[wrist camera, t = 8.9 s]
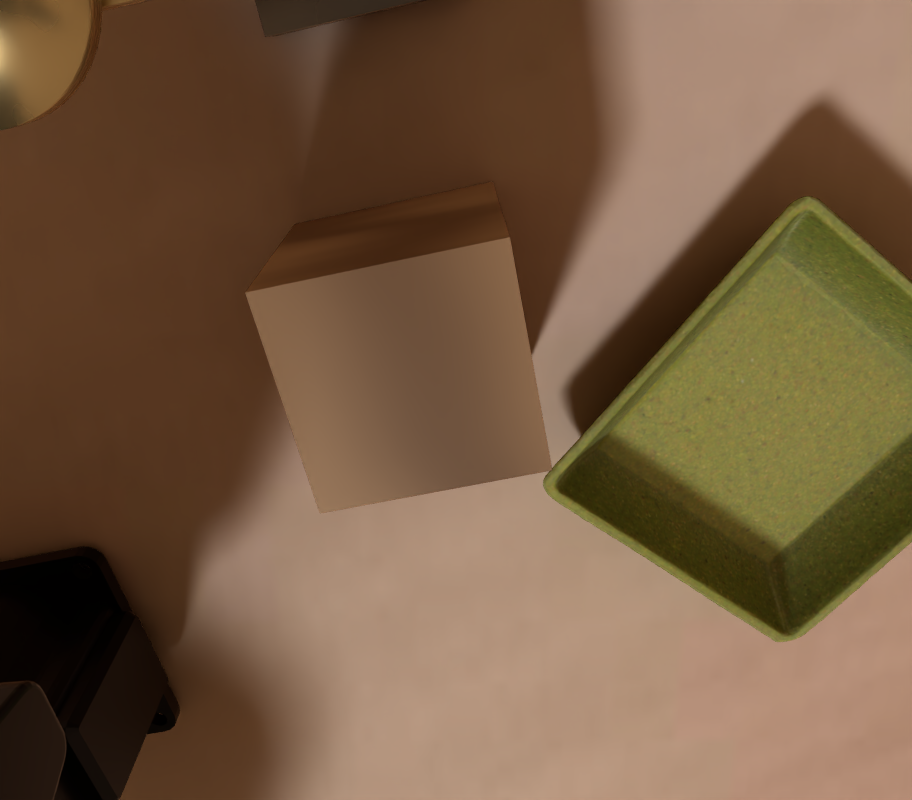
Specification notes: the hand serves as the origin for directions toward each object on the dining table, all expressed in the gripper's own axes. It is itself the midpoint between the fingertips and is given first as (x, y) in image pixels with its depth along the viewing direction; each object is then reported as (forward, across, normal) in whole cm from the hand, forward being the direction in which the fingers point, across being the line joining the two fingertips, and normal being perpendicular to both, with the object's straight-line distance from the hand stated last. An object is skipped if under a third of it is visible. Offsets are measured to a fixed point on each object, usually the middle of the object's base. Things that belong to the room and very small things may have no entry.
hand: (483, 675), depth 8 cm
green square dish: (+12, -7, +5) cm, 15 cm away
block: (+12, +1, 0) cm, 12 cm away
